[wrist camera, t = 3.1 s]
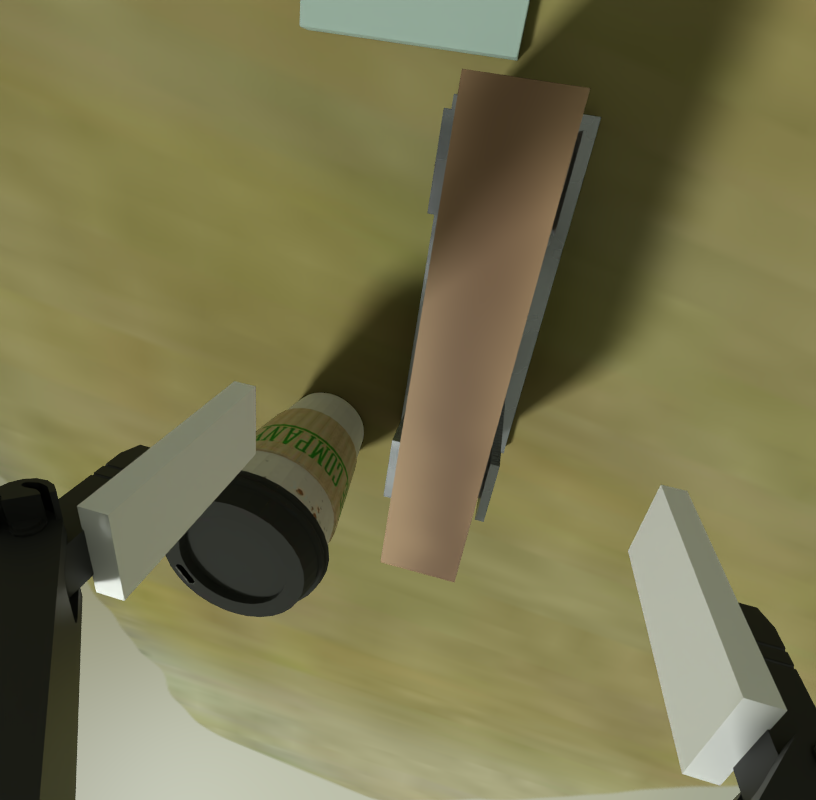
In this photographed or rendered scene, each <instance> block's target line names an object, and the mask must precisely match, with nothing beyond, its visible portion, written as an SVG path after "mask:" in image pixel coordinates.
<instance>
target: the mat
mask: <svg viewBox="0 0 816 800" xmlns="http://www.w3.org/2000/svg"><path fill="white" fill-rule="evenodd" d="M529 3H530V0H300V26H301V27H303V28H305V29H307V30H313V31H320V32H327V33H334V34H340V35H347V36H354V37H361V38H368V39H374V40H381V41H388V42H395V43H401V44H408V45H415V46H422V47H429V48H435V49H442V50H449V51H456V52H463V53H469V54H476V55H483V56H490V57H497V58H503V59H510V60H518V56H519V51H520V46H521V41H522V37H523V32H524V27H525V22H526V17H527V13H528V8H529Z"/></svg>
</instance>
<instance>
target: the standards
mask: <svg viewBox="0 0 816 800" xmlns="http://www.w3.org/2000/svg"><path fill="white" fill-rule="evenodd" d="M457 96H458V95H457V94H454V97H453V103H452V109H448V108H444V110H443V117H442V123H441V130H440V136H439V143H438V149H437V155H436V162H435V168H434V175H433V181H432V188H431V194H430V201H429V207H428V213H429V214H434V220H433V226H432V233H431V239H430V245H429V251H428V257H427V264H426V270H425V276H424V282H423V288H422V294H421V301H420V307H419V313H418V319H417V325H416V331H415V338H414V344H413V350H412V356H411V362H410V369H409V375H408V381H407V387H406V393H405V399H404V406H403V412H402V418H401V422H400V424H399V427H398V429H397V431H396V433H395V435H394V438H393V440H392V445H391V452H390V458H389V465H388V471H387V477H386V484H385V490H384V496H386V497H390V498H391V495H392V489H393V483H394V477H395V471H396V465H397V459H398V453H399V447H400V441H401V435H402V429H403V423H404V417H405V411H406V404H407V398H408V392H409V386H410V380H411V374H412V368H413V362H414V356H415V350H416V344H417V338H418V332H419V326H420V320H421V314H422V308H423V302H424V295H425V289H426V283H427V277H428V271H429V265H430V259H431V253H432V247H433V241H434V235H435V229H436V223H437V217H438V211H439V205H440V199H441V192H442V186H443V180H444V174H445V168H446V162H447V156H448V150H449V144H450V138H451V132H452V126H453V120H454V114H455V108H456V102H457ZM600 120H601V117H597V116H591V115H584V114H583V117H582V121H581V124H580V128H579V131H578V135H577V139H576V142H575V146H574V150H573V153H572V157H571V161H570V164H569V168H568V171H567V175H566V179H565V182H564V186H563V190H562V193H561V197H560V200H559V204H558V208H557V211H556V215H555V219H554V222H553V226H552V230H551V233H550V237H549V240H548V244H547V248H546V251H545V255H544V259H543V262H542V266H541V270H540V273H539V277H538V280H537V284H536V288H535V291H534V295H533V299H532V302H531V306H530V310H529V313H528V317H527V320H526V324H525V328H524V331H523V335H522V339H521V342H520V346H519V349H518V353H517V357H516V360H515V364H514V368H513V371H512V375H511V379H510V382H509V386H508V389H507V393H506V397H505V400H504V404H503V408H502V411H501V415H500V419H499V422H498V426H497V429H496V433H495V437H494V440H493V444H492V448H491V451H490V455H489V458H488V462H487V466H486V469H485V473H484V477H483V480H482V484H481V488H480V491H479V495H478V502H477V509H476V516H475V520H479V521H482V522H484V518H485V515H486V511H487V508H488V505H489V501H490V498H491V494H492V491H493V487H494V484H495V481H496V477H497V474H498V470H499V467H500V456H501V453H504V449H505V446H506V442H507V439H508V436H509V432H510V429H511V425H512V422H513V418H514V415H515V412H516V408H517V405H518V401H519V398H520V394H521V391H522V387H523V384H524V381H525V377H526V374H527V370H528V367H529V363H530V360H531V357H532V353H533V350H534V346H535V343H536V339H537V336H538V333H539V329H540V326H541V322H542V319H543V315H544V312H545V309H546V305H547V302H548V298H549V295H550V291H551V288H552V284H553V281H554V278H555V274H556V271H557V267H558V264H559V260H560V257H561V254H562V250H563V247H564V243H565V240H566V237H567V234H568V230H569V227H570V223H571V220H572V216H573V213H574V210H575V206H576V203H577V199H578V196H579V192H580V189H581V186H582V182H583V179H584V175H585V172H586V168H587V165H588V162H589V158H590V155H591V151H592V148H593V144H594V141H595V138H596V134H597V130H598V127H599V123H600Z"/></svg>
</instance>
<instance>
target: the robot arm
mask: <svg viewBox="0 0 816 800" xmlns="http://www.w3.org/2000/svg"><path fill="white" fill-rule="evenodd" d="M255 454H256V386H252V385H248V384H244V383H239V382H235V381H234V382H233V383H232V384H230V385H229V386H228V387H227V388H225V389H224V390H223V391H222V392H220V393H219V394H218V395H217V396H215V397H214V398H213V399H212V400H210V401H209V402H208V403H206V404H205V405H204V406H203V407H201V408H200V409H199V410H198V411H196V412H195V413H194V414H193V415H191V416H190V417H189V418H188V419H186V420H185V421H184V422H182V423H181V424H180V425H179V426H177V427H176V428H175V429H174V430H172V431H171V432H170V433H169V434H167V435H166V436H165V437H164V438H162V439H161V440H160V441H158V442H157V443H156V444H155V445H153V446H152V447H151V448H150V447H146V446H143V445H139V446H136V447H134V448H131V449H129V450H126V451H124V452H121V453H120V454H118V455H117V456H116V457H114V458H113V459H112V460H110V461H109V462H108V463H106V466H102V467H101V468H100V469H98V470H97V471H96V472H94V475H90V476H89V477H88V478H86V479H85V480H84V481H82V482H81V483H80V484H78V485H77V486H76V487H74V488H73V489H72V490H70V491H69V492H68V493H66V494H65V495H63V496H62V497H61V498H59V499H58V496H57V492H56V489H55V486H54V484H52V483H51V482H49V481H48V480H43V479H38V478H33V479H21V480H17V481H13V482H9V483H7V484H4V485H2V486H0V800H75V793H76V765H77V764H76V763H77V736H78V707H79V678H80V648H81V621H82V620H81V619H82V593H81V589H80V587H81V586H82V585H83V584H84V583H85V582H86V581H87V580H89V579H90V578H91V577H92V576H93V579H94V584H95V588H96V592H98V593H101V594H104V595H107V596H111V597H114V598H117V599H120V600H123V601H125V600H126V598H127V597H128V596H129V595H130V594H131V593H132V592H133V591H134V590H135V588H136V587H137V586H138V585H139V584H140V583H141V582H142V581H143V579H144V578H145V577H146V576H147V575H148V574H149V573H150V572H151V571H152V569H153V568H154V567H155V566H156V565H157V564H158V563H159V562H160V560H161V559H162V558H163V557H164V556H165V555H166V554H167V553H168V552H169V550H170V549H171V548H172V547H173V546H174V545H175V544H176V543H177V541H178V540H179V539H180V538H181V537H182V536H183V535H184V534H185V533H186V531H187V530H188V529H189V528H190V527H191V526H192V525H193V524H194V522H195V521H196V520H197V519H198V518H199V517H200V516H201V515H202V514H203V512H204V511H205V510H206V509H207V508H208V507H209V506H210V505H211V504H212V502H213V501H214V500H215V499H216V498H217V497H218V496H219V495H220V493H221V492H222V491H223V490H224V489H225V488H226V487H227V486H228V485H229V483H230V482H231V481H232V480H233V479H234V478H235V477H236V476H237V474H238V473H239V472H240V471H241V470H242V469H243V468H244V467H245V466H246V464H247V463H248V462H249V461H250V460H251V459H252V458H253V457H254V455H255ZM628 552H629V556H630V560H631V565H632V569H633V573H634V577H635V581H636V585H637V589H638V593H639V598H640V602H641V606H642V610H643V614H644V618H645V622H646V626H647V631H648V635H649V639H650V643H651V647H652V651H653V655H654V659H655V664H656V668H657V672H658V676H659V680H660V684H661V688H662V692H663V697H664V701H665V705H666V709H667V713H668V717H669V721H670V725H671V730H672V734H673V738H674V742H675V746H676V750H677V754H678V758H679V763H680V767H681V771H682V774H685V775H688V776H691V777H694V778H698V779H701V780H704V781H707V782H710V783H714V784H717V785H721V784H722V783H723V782H724V781H725V779H726V778H727V777H728V776H729V775H730V774H731V773H732V772H733V771H734V773H735V776H736V779H737V782H738V785H739V788H740V791H741V792H740V793H739V794H738V795H737V796H736V797H735V798H734V799H733V800H816V707H815V705H814V703H813V701H812V699H811V698H810V696H809V694H808V692H807V690H806V688H805V686H804V684H803V682H802V680H801V678H800V676H799V674H798V672H797V670H796V669H794V664H793V662H792V660H791V658H790V656H789V654H788V652H785V646H784V644H783V643H782V641H781V639H780V637H779V635H778V633H777V631H776V629H775V627H774V626H773V625H772V624H771V623H770V622H769V621H768V619H767V618H766V617H765V616H764V615H763V614H762V613H761V612H760V610H759V609H758V608H756V607H752V606H749V605H745V604H741V603H738V601H737V599H736V597H735V595H734V593H733V590H732V588H731V586H730V584H729V582H728V579H727V577H726V575H725V573H724V571H723V568H722V566H721V564H720V562H719V560H718V557H717V555H716V553H715V551H714V549H713V547H712V544H711V542H710V540H709V538H708V536H707V533H706V531H705V529H704V527H703V525H702V522H701V520H700V518H699V516H698V514H697V511H696V509H695V507H694V505H693V503H692V500H691V498H690V496H689V494H688V492H687V491H685V490H681V489H676V488H672V487H668V486H664V485H661V486H660V488H659V490H658V492H657V494H656V496H655V498H654V500H653V502H652V504H651V506H650V508H649V510H648V512H647V514H646V516H645V518H644V520H643V522H642V524H641V526H640V528H639V530H638V532H637V534H636V536H635V538H634V540H633V542H632V544H631V546H630V548H629V550H628Z"/></svg>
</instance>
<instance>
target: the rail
mask: <svg viewBox="0 0 816 800" xmlns="http://www.w3.org/2000/svg"><path fill="white" fill-rule="evenodd" d="M589 91H590V88H586V87H579V86H573V85H566V84H559V83H553V82H546V81H540V80H533V79H526V78H520V77H513V76H507V75H500V74H493V73H487V72H480V71H473V70H467V69H462V71H461V77H460V83H459V90H458V96H457V102H456V108H455V114H454V120H453V126H452V132H451V138H450V144H449V150H448V156H447V162H446V168H445V174H444V180H443V186H442V192H441V199H440V205H439V211H438V217H437V223H436V229H435V235H434V241H433V247H432V253H431V259H430V265H429V271H428V277H427V283H426V289H425V295H424V302H423V308H422V314H421V320H420V326H419V332H418V338H417V344H416V350H415V356H414V362H413V368H412V374H411V380H410V386H409V392H408V398H407V404H406V411H405V417H404V423H403V429H402V435H401V441H400V447H399V453H398V459H397V465H396V471H395V477H394V483H393V489H392V495H391V501H390V507H389V513H388V520H387V526H386V532H385V538H384V544H383V550H382V556H381V562H382V563H386V564H389V565H393V566H397V567H400V568H404V569H408V570H411V571H415V572H419V573H422V574H426V575H430V576H433V577H437V578H440V579H444V580H448V581H451V582H455V578H456V575H457V571H458V568H459V564H460V560H461V557H462V553H463V549H464V546H465V542H466V538H467V535H468V531H469V528H470V524H471V520H472V517H473V513H474V509H475V506H476V502H477V498H478V495H479V491H480V488H481V484H482V480H483V477H484V473H485V469H486V466H487V462H488V458H489V455H490V451H491V448H492V444H493V440H494V437H495V433H496V429H497V426H498V422H499V419H500V415H501V411H502V408H503V404H504V400H505V397H506V393H507V389H508V386H509V382H510V379H511V375H512V371H513V368H514V364H515V360H516V357H517V353H518V349H519V346H520V342H521V339H522V335H523V331H524V328H525V324H526V320H527V317H528V313H529V310H530V306H531V302H532V299H533V295H534V291H535V288H536V284H537V280H538V277H539V273H540V270H541V266H542V262H543V259H544V255H545V251H546V248H547V244H548V240H549V237H550V233H551V230H552V226H553V222H554V219H555V215H556V211H557V208H558V204H559V200H560V197H561V193H562V190H563V186H564V182H565V179H566V175H567V171H568V168H569V164H570V161H571V157H572V153H573V150H574V146H575V142H576V139H577V135H578V131H579V128H580V124H581V121H582V117H583V113H584V110H585V106H586V102H587V99H588V95H589Z"/></svg>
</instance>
